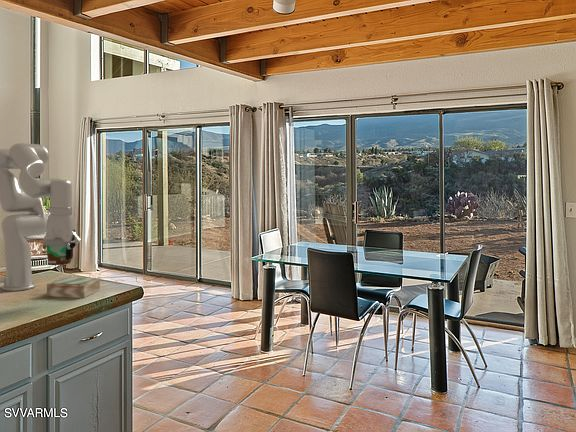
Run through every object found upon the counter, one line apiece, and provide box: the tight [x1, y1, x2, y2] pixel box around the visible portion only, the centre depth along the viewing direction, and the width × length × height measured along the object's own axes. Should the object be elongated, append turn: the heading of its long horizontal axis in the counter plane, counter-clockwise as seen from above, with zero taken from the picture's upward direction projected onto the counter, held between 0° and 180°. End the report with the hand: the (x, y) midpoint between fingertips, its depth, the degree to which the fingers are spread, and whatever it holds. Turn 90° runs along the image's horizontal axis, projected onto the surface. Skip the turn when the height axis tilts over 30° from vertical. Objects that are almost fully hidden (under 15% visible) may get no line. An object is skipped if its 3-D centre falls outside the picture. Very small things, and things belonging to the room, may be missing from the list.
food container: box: [44, 239, 75, 266], centre depth 179 cm, size 12×6×10 cm, turn 168°
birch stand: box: [46, 276, 101, 299], centre depth 192 cm, size 16×12×5 cm
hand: (62, 258), depth 179 cm, fingers closed on food container, 5 cm apart
